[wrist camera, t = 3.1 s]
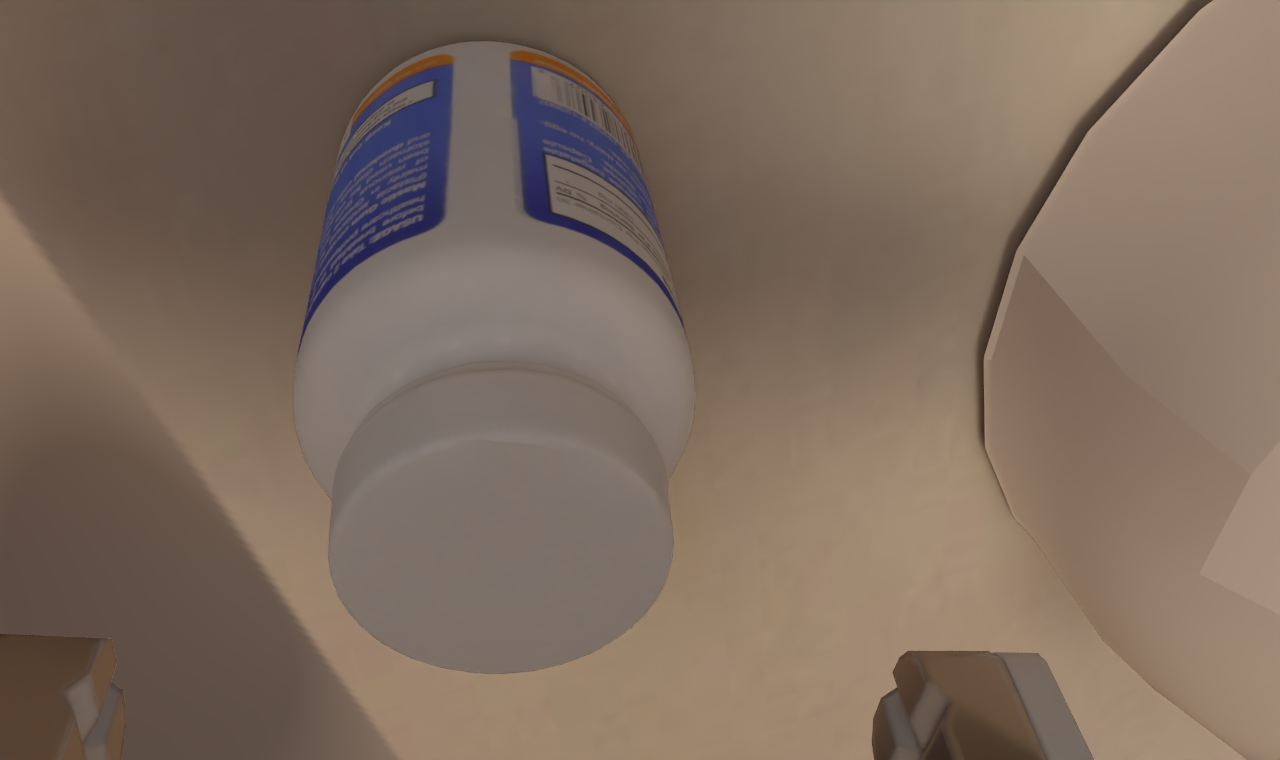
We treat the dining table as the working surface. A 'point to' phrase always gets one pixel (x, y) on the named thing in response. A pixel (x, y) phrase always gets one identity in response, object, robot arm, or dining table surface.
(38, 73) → the dining table surface
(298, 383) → the pill bottle
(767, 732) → the dining table surface
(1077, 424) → the kettle
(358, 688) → the dining table surface
